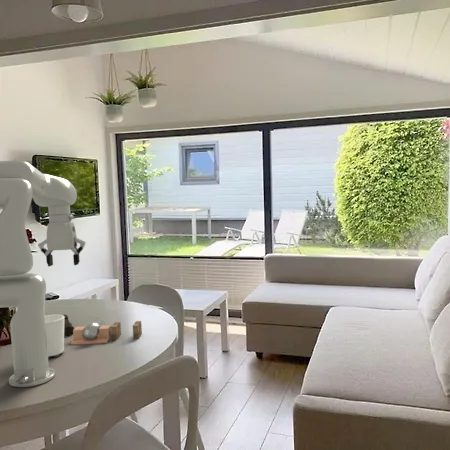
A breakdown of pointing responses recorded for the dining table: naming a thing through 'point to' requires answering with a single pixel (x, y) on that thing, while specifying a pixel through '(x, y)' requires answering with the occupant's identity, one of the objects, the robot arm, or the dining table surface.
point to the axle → (92, 329)
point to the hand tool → (67, 326)
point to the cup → (55, 334)
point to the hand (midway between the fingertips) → (63, 265)
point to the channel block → (117, 330)
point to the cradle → (100, 338)
